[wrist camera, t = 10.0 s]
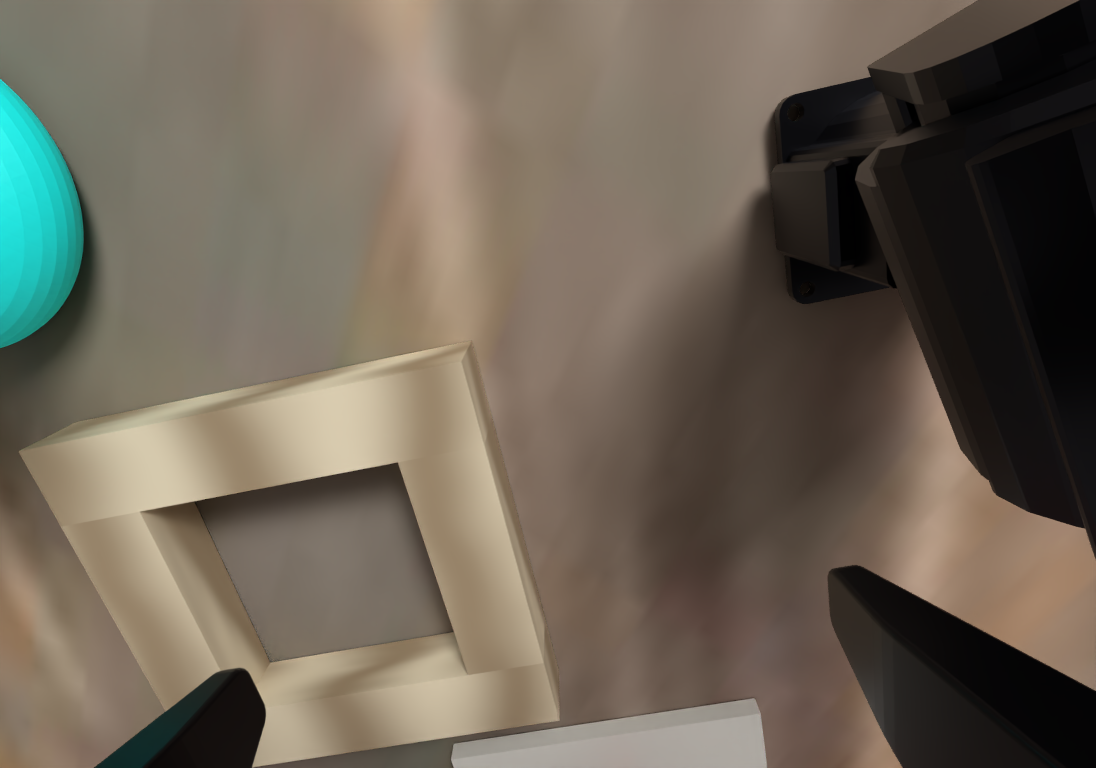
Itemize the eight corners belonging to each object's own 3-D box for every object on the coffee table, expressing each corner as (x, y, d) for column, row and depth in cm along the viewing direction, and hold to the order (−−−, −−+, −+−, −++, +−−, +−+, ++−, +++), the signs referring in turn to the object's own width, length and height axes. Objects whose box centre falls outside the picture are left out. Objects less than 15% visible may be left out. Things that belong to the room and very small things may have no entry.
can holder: (471, 340, 21) (461, 361, 18) (559, 670, 26) (559, 720, 23) (76, 421, 22) (18, 451, 19) (232, 722, 27) (201, 775, 24)
